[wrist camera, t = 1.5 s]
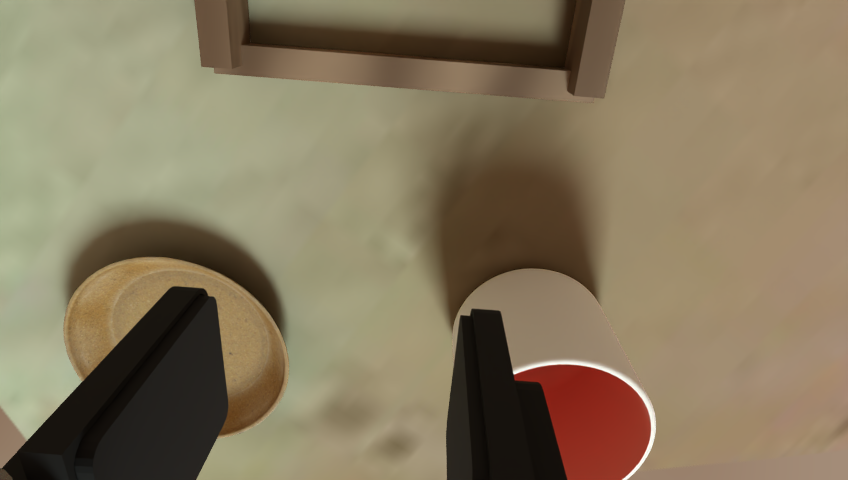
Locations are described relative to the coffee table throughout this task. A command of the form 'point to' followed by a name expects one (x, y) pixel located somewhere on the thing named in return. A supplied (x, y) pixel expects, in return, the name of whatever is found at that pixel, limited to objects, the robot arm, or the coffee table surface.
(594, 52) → the frame
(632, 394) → the cup
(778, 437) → the coffee table surface
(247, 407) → the plant saucer
